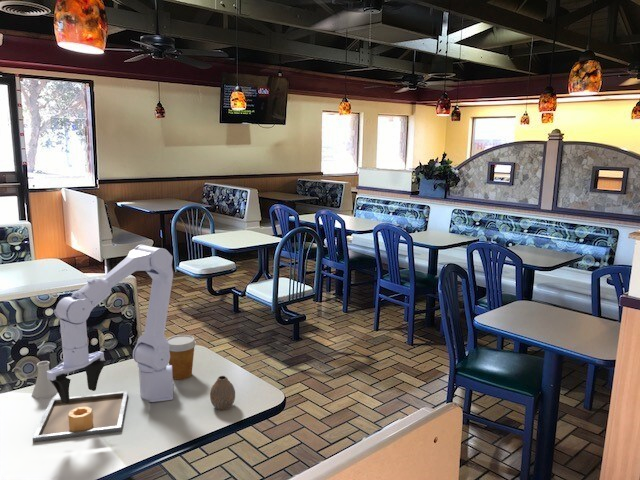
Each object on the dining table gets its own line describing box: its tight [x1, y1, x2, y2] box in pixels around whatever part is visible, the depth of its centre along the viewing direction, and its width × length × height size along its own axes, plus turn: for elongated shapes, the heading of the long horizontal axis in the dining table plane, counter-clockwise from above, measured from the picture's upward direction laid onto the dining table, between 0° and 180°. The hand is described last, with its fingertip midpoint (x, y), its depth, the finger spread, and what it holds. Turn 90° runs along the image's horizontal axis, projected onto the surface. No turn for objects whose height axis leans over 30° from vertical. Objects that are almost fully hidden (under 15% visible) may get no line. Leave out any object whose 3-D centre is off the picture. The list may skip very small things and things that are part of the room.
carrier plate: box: [33, 397, 126, 444], centre depth 137 cm, size 20×20×1 cm
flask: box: [31, 360, 58, 399], centre depth 149 cm, size 7×7×10 cm
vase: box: [209, 375, 236, 411], centre depth 144 cm, size 7×7×9 cm
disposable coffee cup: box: [166, 334, 197, 381], centre depth 162 cm, size 10×10×12 cm
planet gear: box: [68, 406, 93, 431], centre depth 132 cm, size 5×5×4 cm
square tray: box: [32, 390, 129, 444], centre depth 137 cm, size 20×20×1 cm
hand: (79, 395), depth 130 cm, fingers open, 7 cm apart
